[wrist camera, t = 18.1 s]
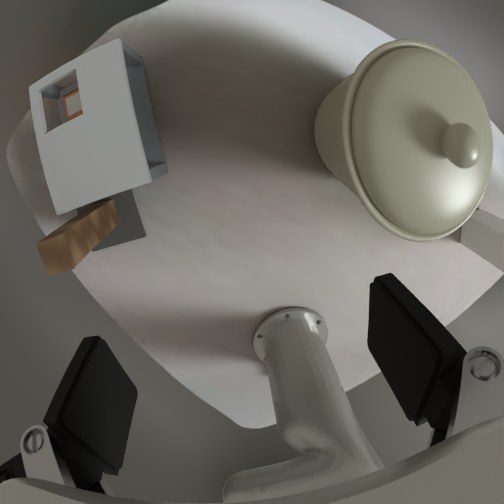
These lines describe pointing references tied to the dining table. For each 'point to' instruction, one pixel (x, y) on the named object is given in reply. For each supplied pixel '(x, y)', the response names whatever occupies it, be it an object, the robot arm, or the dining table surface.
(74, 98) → the breaker button
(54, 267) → the brown wooden bar
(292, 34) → the dining table surface
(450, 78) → the canister
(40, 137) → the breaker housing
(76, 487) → the robot arm
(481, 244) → the milk
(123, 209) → the pad
